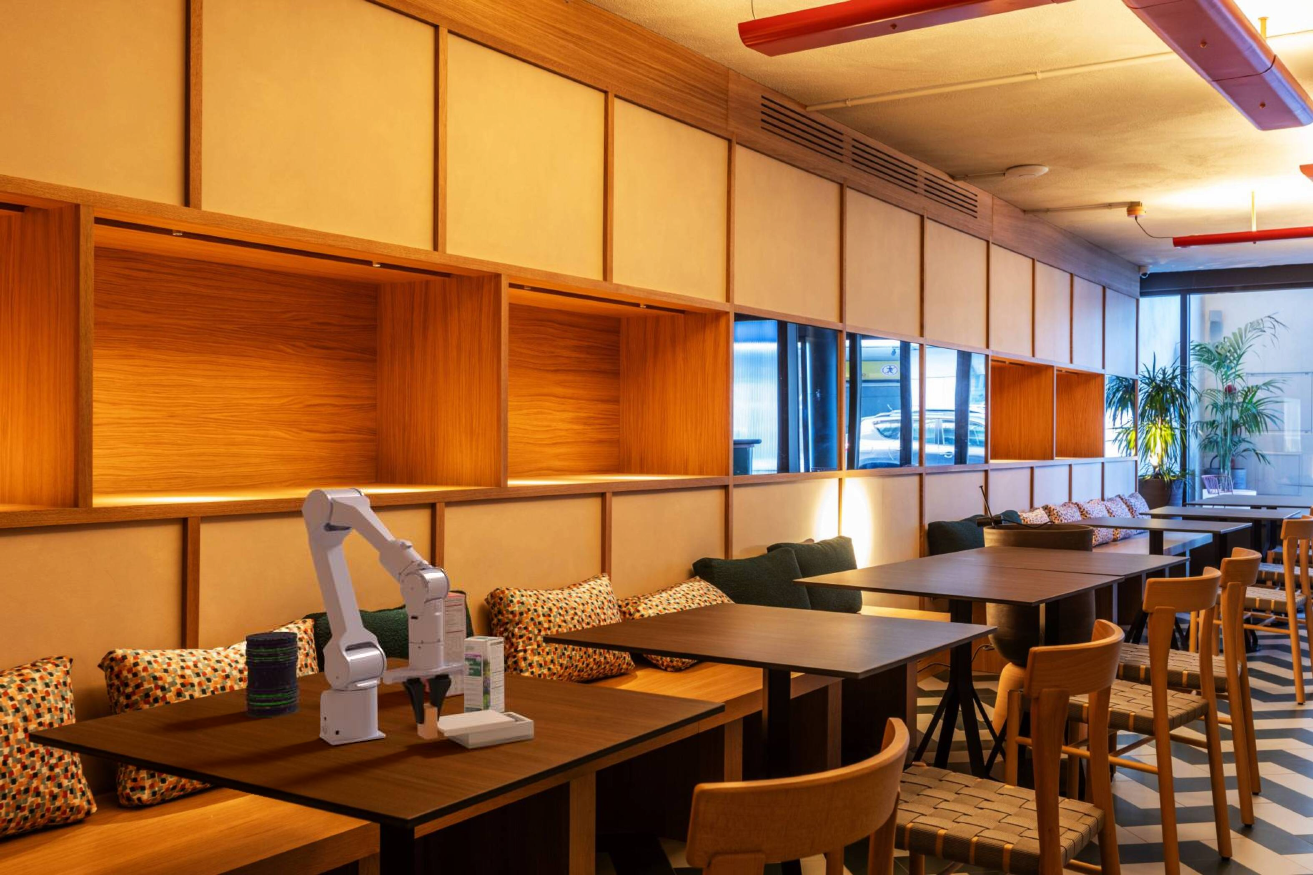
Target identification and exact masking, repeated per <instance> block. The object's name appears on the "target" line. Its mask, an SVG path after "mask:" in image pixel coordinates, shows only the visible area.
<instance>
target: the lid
mask: <svg viewBox="0 0 1313 875" xmlns="http://www.w3.org/2000/svg"><path fill="white" fill-rule="evenodd" d="M511 726H515V720H514V719H512V718H510V717H507V716H505V715H503V714H500V713H498V712H496V711H493V710H484V711H476V712H469V713H464V712H463V713H458V714H457V713H455V714H449V715H443V716H441V715H440V717H439V722H437V707H435V706H433V705H431V704H430V703H424V724H418V723H417V735H418V736H419V737H421V738H422V739H424V740H430V739H438V737H439V734H438V731H439V732H441V733H442V734H443V736H444V737H449V736H451V735H458V734H464V733H471V732H478V731H484V730H491V729H497V728H504V727H511Z"/></svg>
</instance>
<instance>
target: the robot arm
mask: <svg viewBox="0 0 1313 875" xmlns="http://www.w3.org/2000/svg"><path fill="white" fill-rule="evenodd" d="M304 500H305V501H304V502H303V504H302V507H301V513H302V517H303V520H304V523H305V528H306V531H307V540H308V546H309V550H310V554H311V555H310V556H311V557H312V561H313V562H312V563H313V566H314V570H315V573H316V577H317V580H318V585H319V588H320V593H321V596H322V600H323V604H324V609H325V612H326V615H327V619H328V623H329V627H330V628H329V629H330V631H331V635H332V636H331V638H330V639H329V641H328V642H327V644H326V645H325V646H324V648H323V649H322V652H323V656H324V667H323V668H324V676H325V678H326V680H327V682H328V683H329V685H330V686H331V689H328V690H323V691H322V693H321V695H320V704H319V705H320V710H319V711H320V733H319V737H320V738H321V739H323V740H324V741H326V742H327V743H328V744H330V745H331V746H336V745H343V744H351V743H355V742H356V743H357V742H362V741H363V742H364V741H368V740H376V739H383V738H386V734H385V733H383V732H382V731H380V730H378V728H379V727H378V723H379V722H378V721H379V720H378V685H379V684H381V678H382V682H383V684H386V685H392V684H395V683H401V685H402V687H403V689H404V690H405V693H406V694H407V697H408V699H409V701H410V704H411V708H412V711H413V714H414V718H415V723H417V725H418V724H424V704H425V694H426V691H425V688H426V685H425V684H422V681H421V679H428V684H429V692H430V693H429V692H428V693H429V704H431V705H433V706H435V707H437V722H439V717H441V713H442V712H441V711H442V708H443V704H444V701H445V699H446V697H445V696H446V694H447V692H448V690H449V688H450V686H451V683H452V679H451V678H449V676H452V675H461V674H462V675H467V674H469V663H467V662H455V663H444V652H443V600H444V599H445V598H446V597H447V595H448V593H449V592H450V588H451V582H450V579H449V576H448V574H447V573H446V572H445V569H443V568H441V567H439V566H436V567H435V566H432V565H431V564H429V562H428V561H427V560H426V559H423V557H422V556H421V555H420V554H419V553H418V552H417V551H416V550H415V549H414V548H413V544H412V542H411V541H410V540H405V539H401V538H399V539H396V538H395V537H394V536H393V535H392V533H391V532H390V531H389V530H388V528H387V527H386V525H384V523H383V522H382V521H381V520H380V518H379V517H378V516H377V515H376V513H375V512H374V511H373V510H372V508H371V502H370V498H368V497H367V496H366V495H365V494H364V491H362V490H361V489H359V488H357V487H349V488H335V489H333V488H332V489H322V488H315V489H312V490H311V491H310V492H309V493H308V495H307V496H306V498H305V499H304ZM353 530H355V531H356V532H357V533H358V534H359V535H360V536H361V537H362V538H363V539H365V541H367V542H368V543H369V544H370V545H371V546H372V547H373V548H374V549H375V550H376V551H378V553H379V557H378V561H379V564H380V565H381V566H382V567H383V568H384V569H385V570H386V571H387V573H389V574H390V576H391V577H392V578H393V579H394V580H395V581H396V582H397V583H398V585H399V586H400V587H399V589H400V591H399V592H400V595H401V598H402V600H403V601H404V604H405V612H406V613H407V616H408V666H404V667H400V668H395V669H394V668H393V669H390V670H389V669H387V664H388V663H387V657H386V654H385V652H384V650H383V649H382V648H381V646H380V644H379V641H378V638H377V636H376V635H375V634H374V633H372V632H371V631H369V630H368V629H366V628H365V627H364V624H363V621H362V617H361V613H360V609H359V606H358V601H357V598H356V594H355V590H354V586H353V583H352V580H351V575H350V572H349V568H348V565H347V564H348V563H347V561H346V557H345V553H344V549H343V548H344V547H343V546H342V545H343V542H344V540H345V539H346V537H348V536H349V535H350V534H351V533H352V532H353ZM418 675H423V676H418Z"/></svg>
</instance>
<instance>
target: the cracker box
mask: <svg viewBox="0 0 1313 875" xmlns="http://www.w3.org/2000/svg"><path fill="white" fill-rule="evenodd" d="M466 607H467V606H466V594H463V593H457V592H451V591H449V593H448V595H447V597H446V598H445V599H444V600H443V652H444V663H455V662H464V640H465V639H467V617H466V615H467V614H466V613H467V611H466V609H467V608H466ZM418 676H423V675H418ZM449 678H451V679H452V683H451V686H450V688H449V690H448V692H447V694H446V696H445V698H451V697H455V696H460V695H464V675H462V674H461V675H452V676H449ZM421 681H422V684H425V685H426V688H425V693H429V694H430V692H429V684H428V679H421Z"/></svg>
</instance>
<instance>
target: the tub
mask: <svg viewBox="0 0 1313 875" xmlns="http://www.w3.org/2000/svg"><path fill="white" fill-rule="evenodd" d="M500 714H503V715H505V716H507V717H510V718H512V719H514V720H515V726H511V727H504V728H497V729H491V730H484V731H478V732H471V733H464V734H458V735H451V736H448V739H450V740H451V741H453V742H456V743H458V744H460V745H462V746H463V747H465V748H467V749H476V748H483V747H487V746H488V747H489V746H495V745H501V744H507V743H512V742H520V741H527V740H531V739H534V738H535V729H534V728H535V722H534V720H532V719H530V718H527V717H525V716H522V715H520V714H519V713H515V712H513V711H508V712H502V713H500Z"/></svg>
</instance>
